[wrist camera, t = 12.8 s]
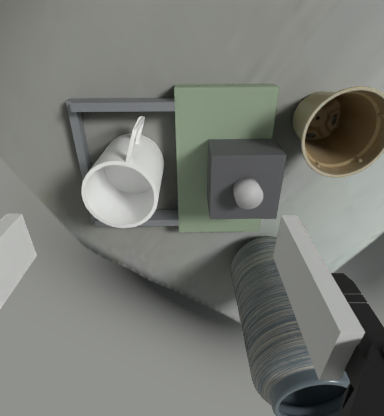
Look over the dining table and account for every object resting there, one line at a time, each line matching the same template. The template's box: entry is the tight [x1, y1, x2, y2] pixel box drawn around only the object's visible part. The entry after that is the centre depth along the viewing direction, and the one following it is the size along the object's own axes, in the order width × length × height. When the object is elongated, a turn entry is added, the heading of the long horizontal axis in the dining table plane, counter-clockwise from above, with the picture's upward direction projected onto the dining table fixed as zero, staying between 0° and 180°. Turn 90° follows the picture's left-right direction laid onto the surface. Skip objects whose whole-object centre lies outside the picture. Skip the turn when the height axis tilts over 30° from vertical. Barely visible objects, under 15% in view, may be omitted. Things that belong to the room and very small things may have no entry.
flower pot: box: [292, 87, 384, 177], centre depth 33 cm, size 9×9×9 cm
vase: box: [231, 236, 350, 416], centre depth 38 cm, size 12×12×23 cm
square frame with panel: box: [66, 84, 287, 232], centre depth 35 cm, size 20×25×10 cm
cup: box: [81, 116, 164, 228], centre depth 34 cm, size 8×12×10 cm
